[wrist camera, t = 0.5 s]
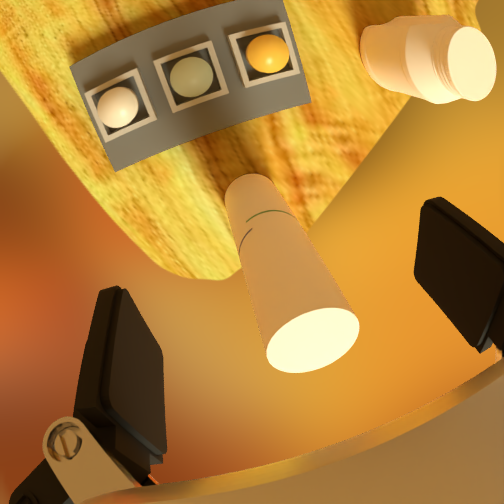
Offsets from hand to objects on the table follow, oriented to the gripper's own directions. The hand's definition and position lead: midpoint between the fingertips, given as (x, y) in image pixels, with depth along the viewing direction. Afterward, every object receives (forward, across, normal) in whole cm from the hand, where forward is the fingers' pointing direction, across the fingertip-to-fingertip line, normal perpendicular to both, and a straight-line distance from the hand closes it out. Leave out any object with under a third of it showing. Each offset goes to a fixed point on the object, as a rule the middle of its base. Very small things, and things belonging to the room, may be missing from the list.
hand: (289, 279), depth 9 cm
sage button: (+27, +1, -5) cm, 28 cm away
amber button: (+27, -7, -6) cm, 29 cm away
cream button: (+27, +9, -5) cm, 29 cm away
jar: (+32, -26, -5) cm, 41 cm away
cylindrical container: (+32, -3, +12) cm, 35 cm away
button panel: (+32, +1, -6) cm, 32 cm away
